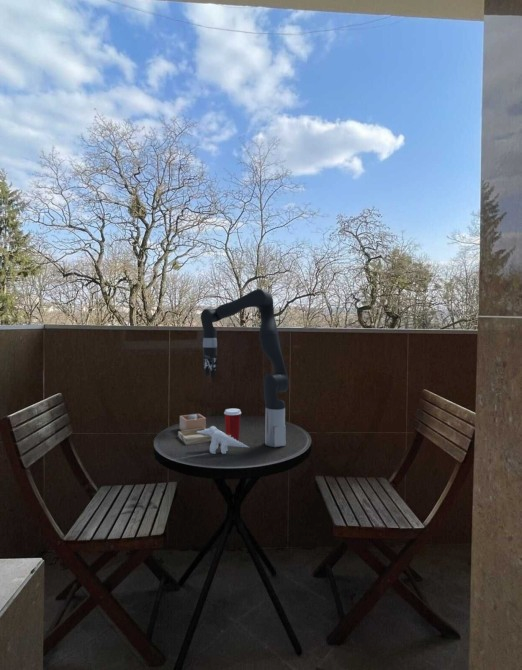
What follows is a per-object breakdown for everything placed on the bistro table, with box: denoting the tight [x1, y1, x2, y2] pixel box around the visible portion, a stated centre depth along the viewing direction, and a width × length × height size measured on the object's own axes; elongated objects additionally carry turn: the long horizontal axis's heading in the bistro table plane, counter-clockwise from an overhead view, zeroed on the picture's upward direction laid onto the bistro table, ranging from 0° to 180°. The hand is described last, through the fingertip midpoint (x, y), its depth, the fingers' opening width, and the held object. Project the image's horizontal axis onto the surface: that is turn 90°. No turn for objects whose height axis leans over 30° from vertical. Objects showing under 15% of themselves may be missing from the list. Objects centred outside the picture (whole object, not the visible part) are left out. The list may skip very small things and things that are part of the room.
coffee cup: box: [223, 408, 242, 441], centre depth 172 cm, size 8×8×15 cm
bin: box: [179, 413, 207, 431], centre depth 187 cm, size 11×11×8 cm
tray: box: [177, 427, 212, 446], centre depth 173 cm, size 14×14×4 cm
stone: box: [188, 413, 198, 420], centre depth 187 cm, size 4×4×4 cm
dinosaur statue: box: [197, 425, 249, 455], centre depth 157 cm, size 7×24×11 cm, turn 84°
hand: (209, 376), depth 192 cm, fingers open, 8 cm apart
